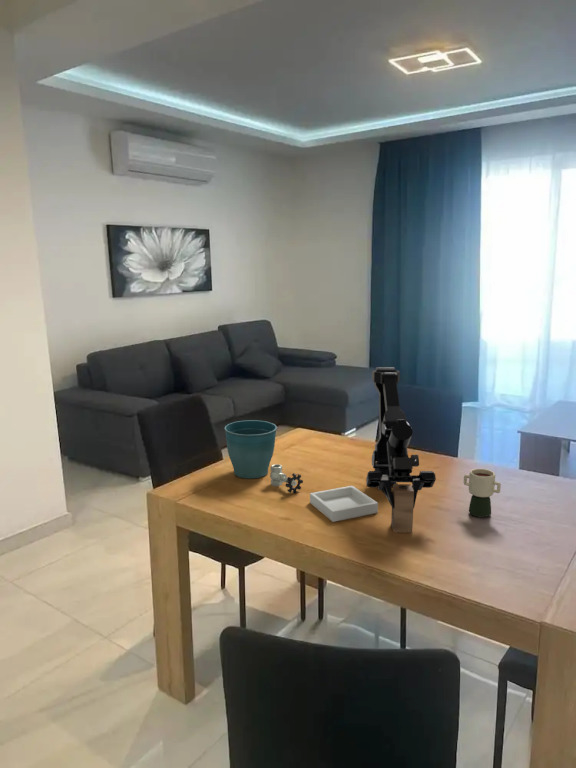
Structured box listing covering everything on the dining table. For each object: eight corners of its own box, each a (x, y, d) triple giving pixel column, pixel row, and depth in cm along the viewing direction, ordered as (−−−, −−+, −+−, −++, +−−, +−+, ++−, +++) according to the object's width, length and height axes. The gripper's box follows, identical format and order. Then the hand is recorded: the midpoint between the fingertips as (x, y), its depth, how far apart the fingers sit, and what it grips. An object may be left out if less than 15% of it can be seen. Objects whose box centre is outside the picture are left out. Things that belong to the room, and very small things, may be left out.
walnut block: (391, 524, 164) (392, 483, 161) (408, 524, 164) (410, 483, 161) (394, 532, 159) (395, 490, 157) (412, 532, 159) (414, 490, 156)
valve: (264, 485, 194) (287, 496, 184) (264, 466, 192) (287, 476, 183) (280, 480, 198) (303, 491, 188) (280, 462, 196) (303, 471, 187)
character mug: (502, 515, 169) (505, 473, 166) (493, 523, 164) (496, 480, 161) (467, 505, 176) (469, 465, 173) (456, 513, 171) (459, 471, 168)
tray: (352, 494, 185) (352, 485, 184) (377, 512, 171) (377, 502, 171) (309, 502, 179) (309, 493, 178) (332, 521, 166) (333, 511, 165)
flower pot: (286, 470, 207) (286, 424, 203) (257, 486, 192) (256, 437, 189) (246, 461, 216) (245, 417, 213) (215, 476, 202) (213, 429, 198)
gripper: (368, 443, 161) (372, 496, 152) (435, 443, 160) (443, 496, 152) (364, 461, 170) (368, 512, 161) (428, 461, 170) (435, 512, 161)
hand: (403, 508), depth 159 cm, fingers closed on walnut block, 5 cm apart
